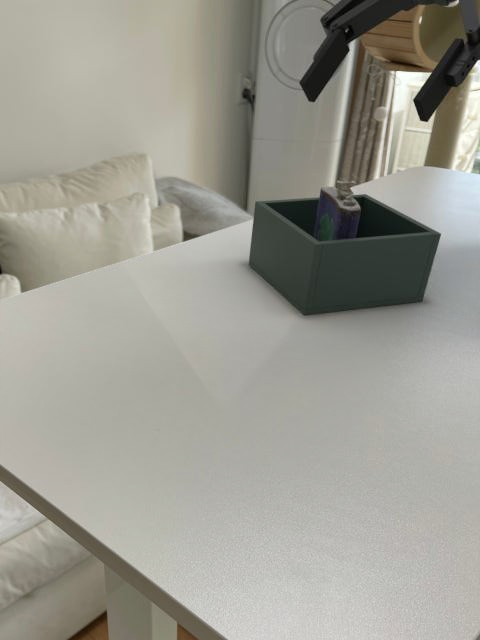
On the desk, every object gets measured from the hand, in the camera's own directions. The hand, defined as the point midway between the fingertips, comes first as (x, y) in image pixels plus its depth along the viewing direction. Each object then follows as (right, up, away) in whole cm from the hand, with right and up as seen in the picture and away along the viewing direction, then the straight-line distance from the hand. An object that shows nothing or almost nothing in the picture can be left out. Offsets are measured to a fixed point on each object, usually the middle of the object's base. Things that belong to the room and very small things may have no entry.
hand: (359, 101), depth 63 cm
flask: (0, -14, +12) cm, 19 cm away
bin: (0, -15, +12) cm, 19 cm away
